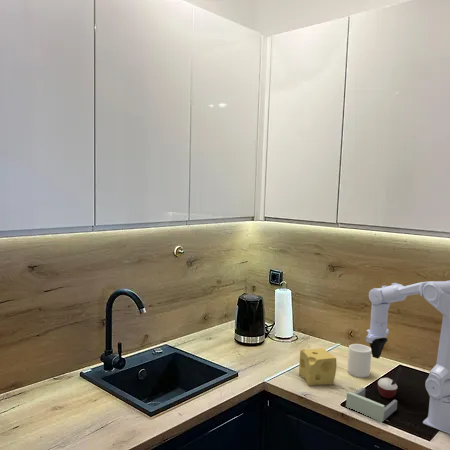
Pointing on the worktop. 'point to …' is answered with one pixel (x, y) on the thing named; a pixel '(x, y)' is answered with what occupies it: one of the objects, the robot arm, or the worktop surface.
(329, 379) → the cheese
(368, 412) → the box
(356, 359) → the cup
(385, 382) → the cocoa
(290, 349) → the worktop surface
